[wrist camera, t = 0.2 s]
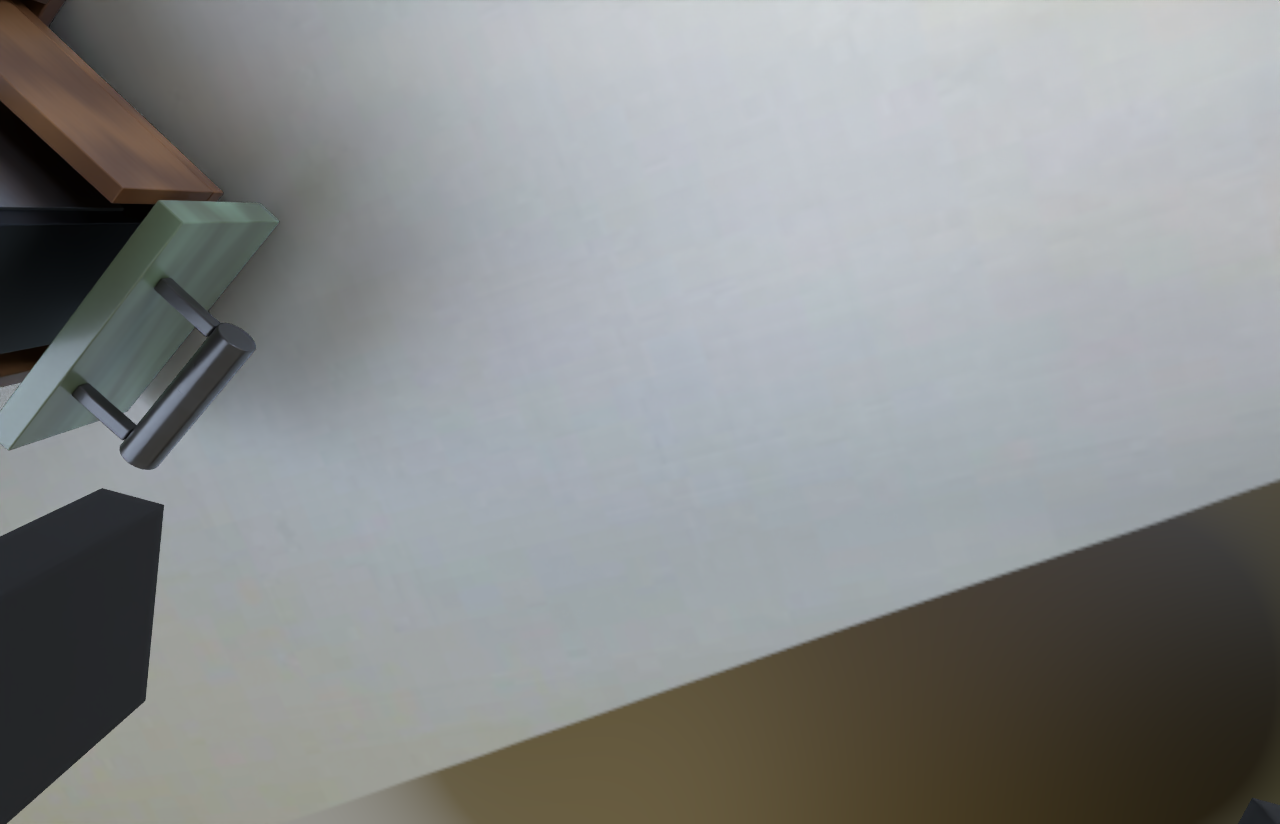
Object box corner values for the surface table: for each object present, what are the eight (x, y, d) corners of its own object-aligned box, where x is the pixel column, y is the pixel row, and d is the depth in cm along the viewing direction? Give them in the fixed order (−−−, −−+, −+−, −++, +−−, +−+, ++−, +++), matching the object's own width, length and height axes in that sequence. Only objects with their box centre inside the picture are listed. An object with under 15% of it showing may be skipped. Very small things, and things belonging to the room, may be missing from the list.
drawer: (353, 289, 36) (273, 306, 30) (196, 473, 39) (92, 524, 33) (4, -40, 35) (-164, -100, 28) (-134, 178, 37) (-316, 170, 31)
